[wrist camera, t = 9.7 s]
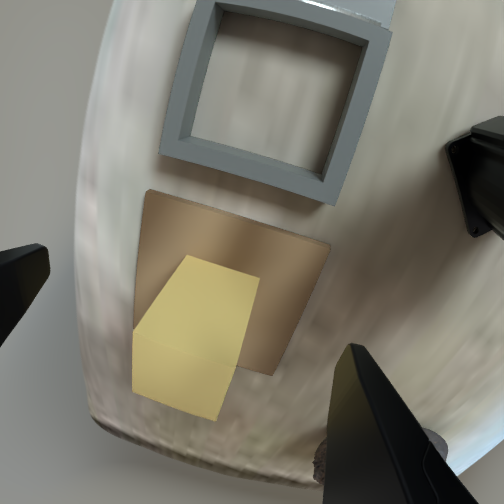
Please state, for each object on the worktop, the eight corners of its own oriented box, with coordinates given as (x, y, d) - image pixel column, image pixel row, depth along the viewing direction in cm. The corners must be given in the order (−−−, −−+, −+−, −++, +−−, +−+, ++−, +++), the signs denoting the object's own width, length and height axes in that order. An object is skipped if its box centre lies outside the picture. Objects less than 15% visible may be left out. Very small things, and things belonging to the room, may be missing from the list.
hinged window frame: (413, -81, 9) (421, -94, 7) (331, 195, 18) (334, 206, 17) (259, -119, 9) (254, -134, 7) (171, 148, 19) (158, 153, 17)
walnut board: (330, 244, 20) (330, 249, 19) (273, 370, 25) (272, 376, 25) (149, 189, 20) (145, 191, 20) (136, 324, 26) (133, 328, 25)
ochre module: (260, 278, 21) (235, 368, 14) (241, 333, 23) (215, 421, 16) (186, 254, 21) (132, 332, 14) (176, 311, 23) (132, 391, 16)
